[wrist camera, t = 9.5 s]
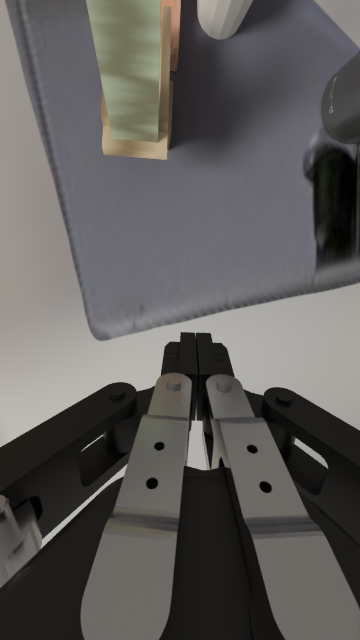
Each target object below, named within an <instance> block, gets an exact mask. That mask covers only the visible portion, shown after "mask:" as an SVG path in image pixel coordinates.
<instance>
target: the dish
mask: <svg viewBox="0 0 360 640" xmlns="http://www.w3.org/2000/svg"><path fill="white" fill-rule="evenodd" d="M163 6H169V7H171V37H170V71H176V72H177V64H178V55H179V32H180V8H181V0H161V10H160V20H161V21H163Z"/></svg>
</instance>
